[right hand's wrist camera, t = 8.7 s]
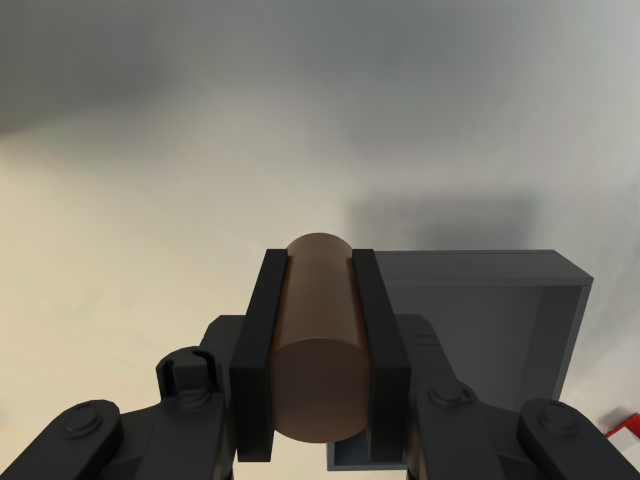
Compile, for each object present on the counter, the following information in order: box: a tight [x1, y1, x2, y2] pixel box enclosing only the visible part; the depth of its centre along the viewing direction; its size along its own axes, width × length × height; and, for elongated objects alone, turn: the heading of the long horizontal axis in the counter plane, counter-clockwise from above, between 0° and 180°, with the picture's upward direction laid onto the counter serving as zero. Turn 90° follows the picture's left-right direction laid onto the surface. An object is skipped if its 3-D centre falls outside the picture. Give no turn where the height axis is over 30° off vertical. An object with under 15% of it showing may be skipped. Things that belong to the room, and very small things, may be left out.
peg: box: [269, 233, 371, 443], centre depth 13 cm, size 3×3×7 cm
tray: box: [326, 250, 594, 471], centre depth 30 cm, size 29×15×4 cm, turn 0°
